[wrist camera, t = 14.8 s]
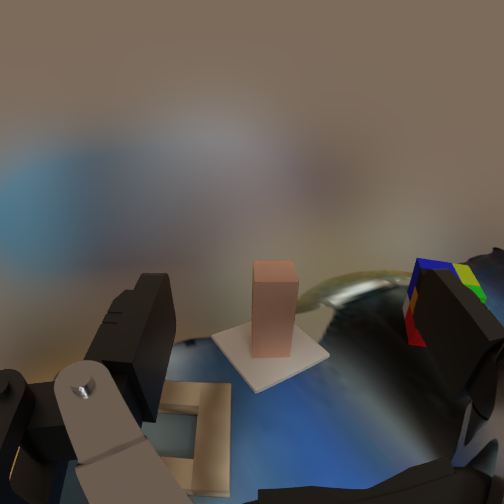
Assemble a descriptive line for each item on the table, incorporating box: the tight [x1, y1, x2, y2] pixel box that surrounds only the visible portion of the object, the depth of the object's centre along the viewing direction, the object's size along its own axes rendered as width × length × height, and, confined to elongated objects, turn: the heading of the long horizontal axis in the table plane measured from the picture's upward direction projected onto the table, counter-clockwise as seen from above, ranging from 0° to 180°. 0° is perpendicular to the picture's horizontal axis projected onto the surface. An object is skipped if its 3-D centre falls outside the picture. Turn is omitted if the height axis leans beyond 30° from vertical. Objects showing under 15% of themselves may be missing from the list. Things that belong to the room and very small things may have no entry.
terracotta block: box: [251, 260, 299, 358], centre depth 41 cm, size 5×5×12 cm
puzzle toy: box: [403, 258, 487, 347], centre depth 44 cm, size 10×10×10 cm
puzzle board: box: [158, 381, 231, 497], centre depth 30 cm, size 14×14×2 cm
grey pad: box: [211, 321, 330, 394], centre depth 44 cm, size 12×12×1 cm
